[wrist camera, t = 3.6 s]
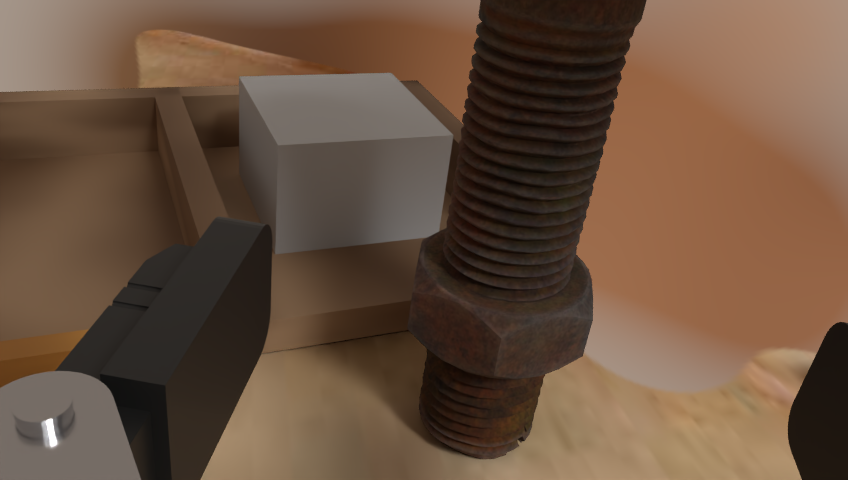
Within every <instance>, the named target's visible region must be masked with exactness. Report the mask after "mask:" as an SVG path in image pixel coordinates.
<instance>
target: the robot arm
mask: <svg viewBox="0 0 848 480" xmlns="http://www.w3.org/2000/svg"><path fill="white" fill-rule="evenodd" d="M271 276H272V231H271V227H270V226H269V225H268V224H262V223H256V222H250V221H244V220H238V219H232V218H226V217H220V216H219V217H216V218H215V219H214V220H213V222H212V223H211V224H210V226H209V227H208V228H207V230H206V231H205V232H204V234H203V235H202V236H201V238H200V239H199V240H198V242H197V243H196V244H195V246H194V247H193V246H187V245H181V244H174V245H172V246H170V247H169V248H167V249H165V250H163V251H161V252H160V253H158V254H156V255H154V256H152V257H151V258H149V259H147V260H146V261H145V262H144V263H143V264H142V265H141V267H140V268H139V269H138V270H137V272H136V273H135V274H134V275H133V276H132V278H131V279H130V280H129V281H128V285H127V287H123V289H122V290H121V291H120V292H119V293H118V295H117V296H116V297H115V298H114V300H113V303H112V306H110V305H109V306H108V307H107V308H106V309H105V310H104V312H103V313H102V314H101V315H100V317H99V318H98V319H97V320H96V321H95V323H94V324H93V325H92V326H91V328H90V329H89V330H88V331H87V332H86V334H85V335H84V336H83V337H82V338H81V340H80V341H79V342H78V343H77V345H76V346H75V347H74V348H73V349H72V351H71V352H70V353H69V354H68V356H67V357H66V358H65V359H64V360H63V362H62V363H61V364H60V365H59V366H58V368H57V369H56V370H55V371H51V372H43V373H38V374H33V375H30V376H26V377H23V378H20V379H18V380H15V381H13V382H11V383H9V384H7V385H5V386H3V387H1V388H0V480H200V479H201V477H202V475H203V473H204V471H205V469H206V467H207V465H208V463H209V461H210V458H211V456H212V454H213V452H214V450H215V448H216V446H217V444H218V442H219V440H220V438H221V436H222V434H223V432H224V430H225V428H226V425H227V423H228V421H229V419H230V417H231V415H232V413H233V411H234V409H235V407H236V405H237V403H238V401H239V399H240V397H241V395H242V392H243V390H244V388H245V386H246V384H247V382H248V380H249V378H250V376H251V374H252V372H253V370H254V368H255V366H256V364H257V362H258V359H259V357H260V355H261V353H262V351H263V348H264V345H265V342H266V338H267V334H268V329H269V323H270V315H271ZM788 440H789V445H790V449H791V452H792V454H793V457H794V460H795V462H796V465H797V467H798V470H799V473H800V475H801V478H802V480H848V323H844V322H839V323H836V324H835V325H833V326H832V327H831V328H830V329H829V331H828V332H827V334H826V336H825V338H824V340H823V342H822V344H821V346H820V348H819V350H818V352H817V354H816V356H815V358H814V360H813V363H812V365H811V367H810V369H809V371H808V373H807V375H806V377H805V379H804V381H803V383H802V385H801V387H800V390H799V392H798V394H797V396H796V398H795V400H794V402H793V404H792V407H791V410H790V415H789V421H788Z"/></svg>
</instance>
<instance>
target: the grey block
mask: <svg viewBox="0 0 848 480" xmlns="http://www.w3.org/2000/svg"><path fill="white" fill-rule="evenodd" d="M452 142H453V134H452V133H451V132H450V131H449V130H448V129H447V128H446V127H445V126H444V125H443V124H442V123H441V122H440V121H439V120H438V119H437V118H436V117H435V116H434V115H433V114H432V113H431V112H430V111H429V110H428V109H427V108H426V107H425V106H424V105H423V104H422V103H421V102H420V101H419V100H418V99H417V98H416V97H415V96H414V95H413V94H412V93H411V92H410V91H409V90H408V89H407V88H406V87H405V86H404V85H403V84H402V83H401V82H400V81H399V80H398V79H397V78H396V77H395V76H394V75H393V74H392V73H369V74H326V75H284V76H241V77H239V175H240V177H241V179H242V181H243V183H244V186H245V188H246V190H247V192H248V195H249V197H250V199H251V201H252V204H253V206H254V208H255V210H256V213H257V215H258V217H259V219H260V221H261V223H262V224H268V225H269V226H270V227H271V231H272V248H273V250H274V253H275V254H284V253H293V252H302V251H311V250H320V249H329V248H337V247H346V246H355V245H364V244H373V243H382V242H391V241H400V240H409V239H418V238H426V237H429V236H431V235H433V234H435V233H437V232H439V228H440V222H441V215H442V208H443V202H444V195H445V188H446V182H447V175H448V168H449V162H450V155H451V148H452Z"/></svg>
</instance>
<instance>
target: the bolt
mask: <svg viewBox="0 0 848 480" xmlns="http://www.w3.org/2000/svg"><path fill="white" fill-rule="evenodd" d="M645 4H646V0H481V2H480V10H479V18H480V20H481V21H482V22H481V23H480V24H478V25H477V28H476V33H477V34H478V36H479V38H477V39H476V42H475V44H474V49H475V51H476V52H477V53H476V54H474V55H473V56H472V66H473V69H472V70H471V71H470V74H469V79H470V81H471V82H472V83H471V84H469V85H468V87H467V90H468V97H469V98H468V99H466V101H465V106H464V107H465V109H466V112H465V113H464V114H463V119H462V122H463V123H464V126H463V127H462V128H461V140H460V141H459V146H458V147H459V155H458V158H457V161H456V163H457V168H456V171H455V175H454V176H455V180H454V181H453V192H452V193H451V204H450V205H449V210H448V213H449V216H448V219H447V221H446V222H447V228H445V229H443V230H441V231H439V232H437V233H435V234H433V235H431V236H429V237H427V238H425V239H423V240H422V243H421V247H420V252H419V257H418V262H417V267H416V273H415V279H414V285H413V292H412V299H411V306H410V313H409V320H408V327H407V329H408V330H409V331H410V332H411V333H412V334H413V335H414V336H415V337H416V338H417V339H418V340H419V341H420V342H421V343H422V344H423V345H424V346H425V347H426V348H427V359H426V362H425V370H424V373H423V375H424V376H423V385H422V388H421V394H420V404H419V410H420V414H421V418H422V420H423V423H424V425H425V426H426V428H427V429H428V430H429V432H430V433H431V434H432V435H433V436H435V437H436V438H437V439H438V440H440V441H441V442H443V443H445V444H447V445H448V446H450V447H451V448H453V449H455V450H457V451H460V452H462V453H465V454H468V455H471V456H474V457H477V458H480V459H494V458H497V457H500V456H503V455H506V453H507V452H509V451H511V450H513V449H515V448H517V447H518V446H519V445H518V443H517V439H518V440H519V441H520V442H522V441H525V439H526V438H527V437H528V435H529V433H530V430H531V428H532V421H533V418H534V412H535V409H536V407H537V406H536V405H537V403H538V397H539V395H540V388H541V386H542V384H543V378H544V376H545V374H547V373H549V372H552V371H555V370H557V369H560V368H561V367H563V366H565V365H567V364H569V363H571V362H573V361H574V360H576V359H578V358H580V357H582V356H583V353H584V349H585V345H586V342H587V338H588V335H589V331H590V328H591V324H592V321H593V293H592V280H591V276H590V273H589V269H588V268H587V267H586V265H585V264H584V262H583V261H582V260H581V259H580V258H579V257H578V256H577V255H576V248H577V247H576V246H577V244H578V243H579V237H580V233H581V231H582V230H583V222H584V220H585V218H586V210H587V208H588V206H589V197H590V196H591V195H592V190H593V183H594V180H595V178H596V175H597V174H596V172H597V171H598V169H599V164H600V158H601V157H602V155H603V145H604V144H605V142H606V138H607V137H606V130H608V129H609V126H610V121H611V118H610V115H611V114H612V112H613V110H614V102H613V100H615V99H616V98H617V95H618V92H617V86H618V84H619V82H620V80H621V73H620V71H621V70H622V69H623V67H624V65H625V63H626V61H625V57H624V55H626V53H627V52H628V50H629V48H630V43H629V39H630V38H631V37H632V36H633V32H634V29H635V27H636V26H637V24H638V23H639V22H640V21H641V19H642V15H643V11H644V7H645Z"/></svg>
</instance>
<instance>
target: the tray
mask: <svg viewBox="0 0 848 480" xmlns="http://www.w3.org/2000/svg"><path fill="white" fill-rule="evenodd" d="M400 82H401V83H402V84H403V85H404V86H405V87H406V88H407V89H408V90H409V91H410V92H411V93H412V94H413V95H414V96H415V97H416V98H417V99H418V100H419V101H420V102H421V103H422V104H423V105H424V106H425V107H426V108H427V109H428V110H429V111H430V112H431V113H432V114H433V115H434V116H435V117H436V118H437V119H438V120H439V121H440V122H441V123H442V124H443V125H444V126H445V127H446V128H447V129H448V130H449V131H450V132H451V133H452V134H453V142H452V148H451V155H450V162H449V168H448V175H447V182H446V188H445V195H444V202H443V208H442V215H441V222H440V228H439V231H441V230H443V229H445V228H447V222H446V221H447V219H448V216H449V213H448V210H449V205H450V204H451V193H452V192H453V181H454V180H455V176H454V175H455V171H456V168H457V163H456V161H457V158H458V155H459V147H458V146H459V141H460V140H461V128H462V127H463V126H464V125H463V124H462V123H461V122H460V121H459V120H458V119H457V118H456V117H455V116H454V115H453V114H452V113H451V112H450V111H449V110H447V109H446V108H445V107H444V106H443V105H442V104H441V103H440V102H439V101H438V100H437V99H436V98H435V97H434V96H433V95H432V94H431V93H430V92H429V91H428V90H426V89H425V88H424V87H423V86H422V85H421V84H420V83H419V82H418V81H400ZM219 216H220V217H226V218H232V219H238V220H244V221H250V222H256V223H261V221H260V219H259V217H258V215H257V213H256V210H255V208H254V206H253V204H252V201H251V199H250V197H249V195H248V192H247V190H246V188H245V186H244V183H243V181H242V179H241V177H240V175H239V86H203V87H167V88H131V89H100V90H99V89H96V90H61V91H60V90H59V91H26V92H25V91H24V92H0V388H1V387H3V386H5V385H7V384H9V383H11V382H13V381H15V380H18V379H20V378H23V377H26V376H30V375H33V374H38V373H43V372H51V371H55V370H56V369H57V368H58V366H59V365H60V364H61V363H62V362H63V360H64V359H65V358H66V357H67V356H68V354H69V353H70V352H71V351H72V349H73V348H74V347H75V346H76V345H77V343H78V342H79V341H80V340H81V338H82V337H83V336H84V335H85V334H86V332H87V331H88V330H89V329H90V328H91V326H92V325H93V324H94V323H95V321H96V320H97V319H98V318H99V317H100V315H101V314H102V313H103V312H104V310H105V309H106V308H107V307H108V306H109V305H110V306H112V303H113V300H114V298H115V297H116V296H117V295H118V293H119V292H120V291H121V290H122V289H123V287H127V285H128V281H129V280H130V279H131V278H132V276H133V275H134V274H135V273H136V272H137V270H138V269H139V268H140V267H141V265H142V264H143V263H144V262H145V261H146V260H147V259H149V258H151V257H152V256H154V255H156V254H158V253H160V252H161V251H163V250H165V249H167V248H169V247H170V246H172V245H174V244H181V245H187V246H193V247H194V246H195V244H196V243H197V242H198V240H199V239H200V238H201V236H202V235H203V234H204V232H205V231H206V230H207V228H208V227H209V226H210V224H211V223H212V222H213V220H214V219H215V218H216V217H219ZM426 238H427V237H426ZM423 239H425V238H418V239H409V240H400V241H391V242H382V243H373V244H364V245H355V246H346V247H337V248H329V249H320V250H311V251H302V252H293V253H284V254H275V253H274V250H273V248H272V276H271V315H270V323H269V329H268V334H267V338H266V342H265V345H264V348H263V351H262V353H269V352H275V351H281V350H287V349H293V348H300V347H306V346H312V345H318V344H325V343H331V342H337V341H343V340H350V339H356V338H362V337H368V336H374V335H381V334H387V333H393V332H399V331H406V330H408V329H407V327H408V320H409V313H410V306H411V299H412V292H413V285H414V279H415V273H416V267H417V262H418V257H419V252H420V247H421V243H422V240H423ZM262 353H261V354H262Z"/></svg>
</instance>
